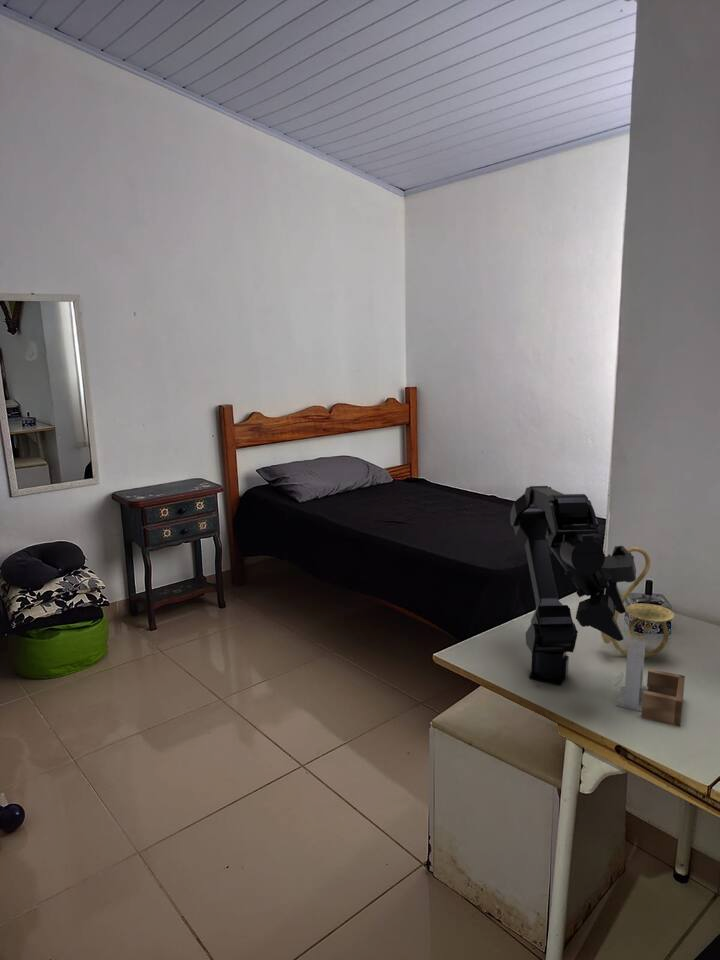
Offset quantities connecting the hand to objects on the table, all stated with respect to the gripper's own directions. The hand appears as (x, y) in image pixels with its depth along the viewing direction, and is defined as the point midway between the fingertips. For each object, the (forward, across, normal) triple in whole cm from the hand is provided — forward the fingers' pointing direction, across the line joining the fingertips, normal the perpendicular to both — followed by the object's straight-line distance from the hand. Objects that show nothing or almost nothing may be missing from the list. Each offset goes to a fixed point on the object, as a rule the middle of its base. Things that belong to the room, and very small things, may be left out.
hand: (622, 625), depth 120 cm
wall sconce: (+17, +17, +8) cm, 25 cm away
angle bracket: (+14, -3, +6) cm, 15 cm away
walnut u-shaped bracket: (+16, -3, +1) cm, 17 cm away
